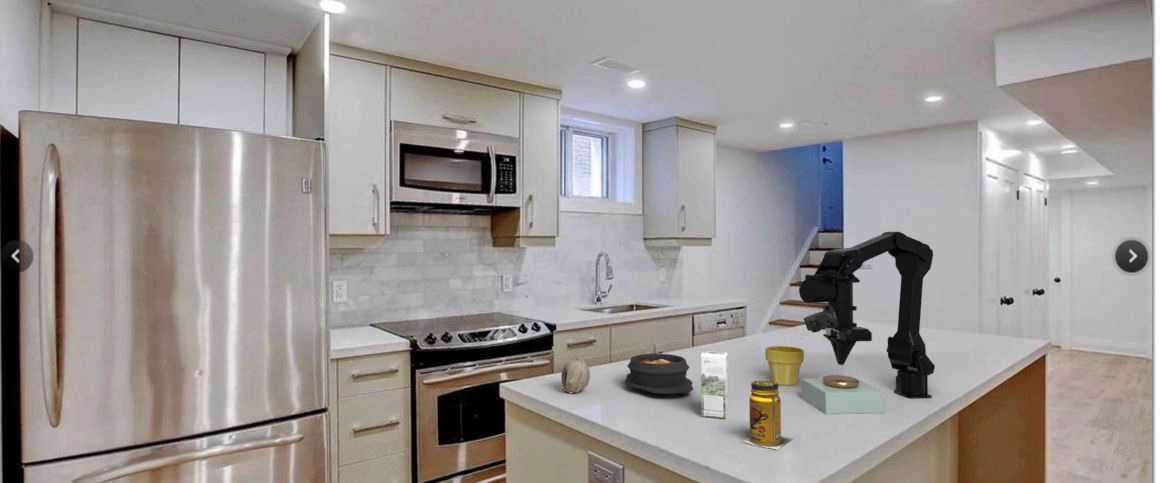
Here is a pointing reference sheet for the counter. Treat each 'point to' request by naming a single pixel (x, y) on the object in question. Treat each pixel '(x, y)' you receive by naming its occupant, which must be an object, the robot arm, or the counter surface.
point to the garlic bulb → (575, 375)
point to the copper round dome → (841, 381)
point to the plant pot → (784, 363)
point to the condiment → (765, 416)
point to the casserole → (659, 374)
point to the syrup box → (714, 384)
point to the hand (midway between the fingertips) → (840, 364)
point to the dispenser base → (842, 397)
